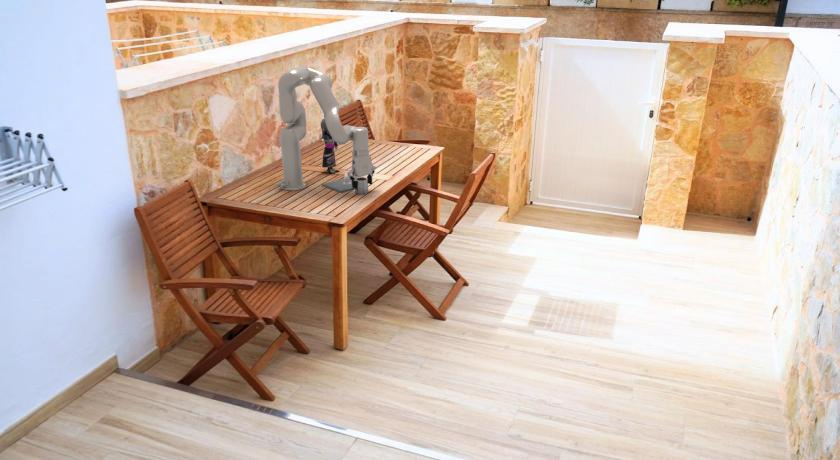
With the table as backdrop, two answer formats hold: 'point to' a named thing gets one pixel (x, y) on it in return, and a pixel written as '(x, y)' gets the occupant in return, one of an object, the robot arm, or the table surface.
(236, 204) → the table surface
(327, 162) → the figurine
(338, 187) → the flange
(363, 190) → the duct sleeve
